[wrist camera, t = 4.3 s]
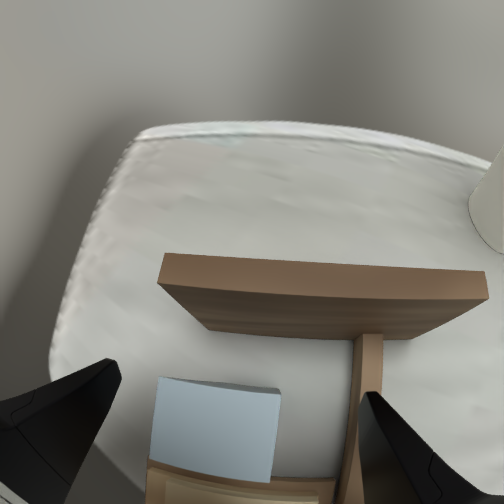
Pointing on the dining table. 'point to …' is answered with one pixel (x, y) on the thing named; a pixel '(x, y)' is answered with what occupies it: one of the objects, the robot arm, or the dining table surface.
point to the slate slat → (216, 428)
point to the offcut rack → (309, 327)
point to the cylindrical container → (490, 205)
